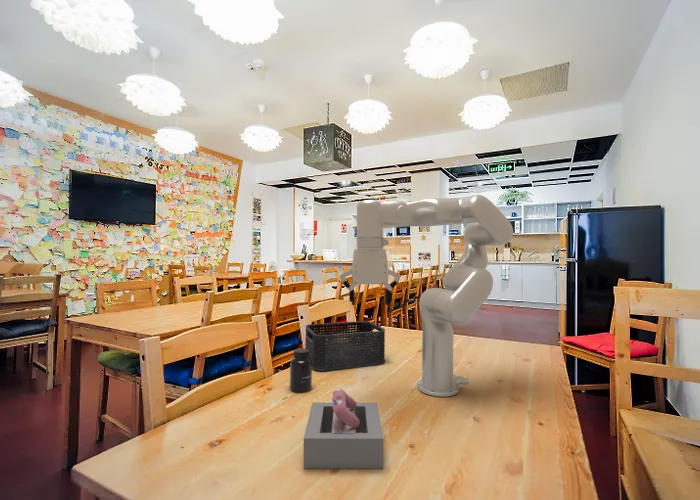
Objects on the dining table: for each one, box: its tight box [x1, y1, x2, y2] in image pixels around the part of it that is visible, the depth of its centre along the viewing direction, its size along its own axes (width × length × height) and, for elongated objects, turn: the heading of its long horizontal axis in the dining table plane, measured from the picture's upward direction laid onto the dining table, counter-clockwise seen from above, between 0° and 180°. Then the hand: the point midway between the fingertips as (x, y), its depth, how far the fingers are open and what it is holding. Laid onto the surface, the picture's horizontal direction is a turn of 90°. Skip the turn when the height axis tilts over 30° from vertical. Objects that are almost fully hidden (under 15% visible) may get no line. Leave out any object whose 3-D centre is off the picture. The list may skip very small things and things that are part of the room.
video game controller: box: [331, 388, 360, 428], centre depth 77 cm, size 10×5×7 cm, turn 3°
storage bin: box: [304, 320, 386, 372], centre depth 135 cm, size 29×19×13 cm
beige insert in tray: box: [331, 408, 357, 434], centre depth 77 cm, size 5×13×2 cm, turn 0°
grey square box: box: [303, 401, 384, 469], centre depth 77 cm, size 16×16×6 cm
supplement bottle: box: [289, 348, 313, 393], centre depth 108 cm, size 7×7×12 cm
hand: (370, 304), depth 97 cm, fingers open, 9 cm apart
